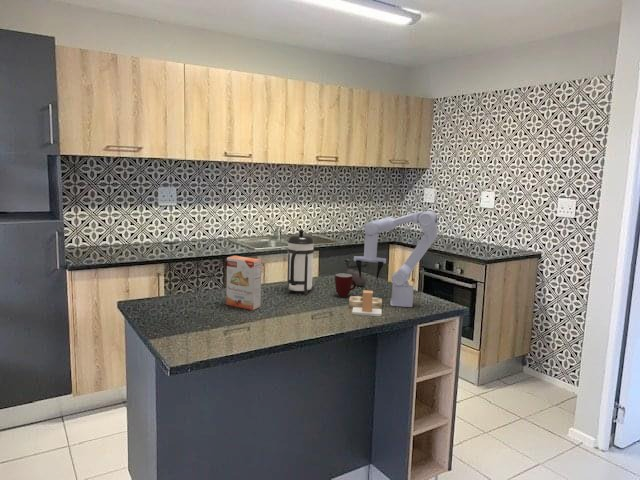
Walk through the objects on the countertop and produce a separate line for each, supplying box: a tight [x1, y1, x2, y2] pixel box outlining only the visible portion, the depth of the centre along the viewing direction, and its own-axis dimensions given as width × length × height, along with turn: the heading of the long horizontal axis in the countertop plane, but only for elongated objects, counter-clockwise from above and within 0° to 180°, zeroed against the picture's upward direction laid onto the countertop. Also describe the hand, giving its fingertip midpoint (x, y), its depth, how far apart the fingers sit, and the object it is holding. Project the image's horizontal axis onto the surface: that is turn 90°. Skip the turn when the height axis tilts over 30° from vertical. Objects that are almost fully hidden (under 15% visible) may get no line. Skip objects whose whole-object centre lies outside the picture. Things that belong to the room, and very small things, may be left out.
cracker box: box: [226, 255, 262, 311], centre depth 199 cm, size 14×6×21 cm, turn 62°
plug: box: [362, 289, 374, 312], centre depth 197 cm, size 4×4×8 cm
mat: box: [351, 307, 383, 317], centre depth 198 cm, size 12×7×1 cm, turn 83°
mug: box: [334, 272, 357, 298], centre depth 222 cm, size 10×8×10 cm
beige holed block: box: [348, 295, 383, 309], centre depth 207 cm, size 14×9×3 cm, turn 83°
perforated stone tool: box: [345, 268, 366, 287], centre depth 245 cm, size 15×5×7 cm, turn 28°
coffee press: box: [284, 229, 315, 296], centre depth 224 cm, size 17×16×30 cm
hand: (368, 277), depth 216 cm, fingers open, 7 cm apart
